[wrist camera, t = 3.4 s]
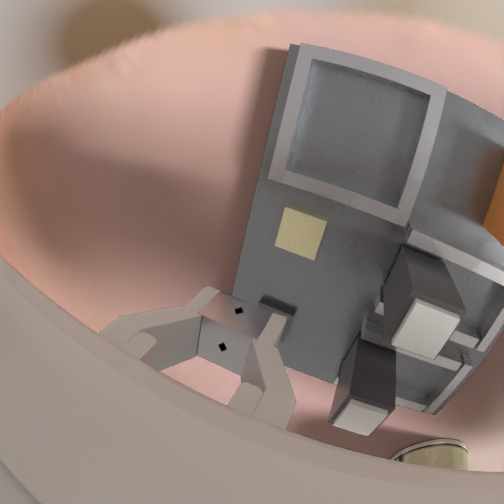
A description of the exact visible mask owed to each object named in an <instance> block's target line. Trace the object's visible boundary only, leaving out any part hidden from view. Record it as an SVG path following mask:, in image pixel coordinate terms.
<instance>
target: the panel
mask: <svg viewBox="0 0 504 504" xmlns="http://www.w3.org/2000/svg"><path fill="white" fill-rule="evenodd" d="M503 164H504V121H503V120H502V119H500V118H498V117H497V116H495V115H493V114H491V113H490V112H488V111H486V110H484V109H482V108H481V107H479V106H477V105H475V104H473V103H471V102H469V101H467V100H465V99H463V98H461V97H459V96H457V95H455V94H453V93H451V92H448V91H447V88H446V87H444V86H442V85H439V84H437V83H435V82H432V81H430V80H427V79H425V78H422V77H420V76H417V75H415V74H412V73H410V72H407V71H404V70H401V69H398V68H396V67H393V66H390V65H387V64H384V63H380V62H377V61H374V60H371V59H367V58H364V57H360V56H357V55H353V54H349V53H345V52H341V51H337V50H333V49H328V48H324V47H319V46H314V45H309V44H303V43H301V44H300V45H294V44H290V47H289V51H288V55H287V59H286V63H285V67H284V71H283V76H282V80H281V84H280V88H279V92H278V96H277V100H276V105H275V109H274V113H273V117H272V121H271V126H270V130H269V134H268V138H267V143H266V147H265V151H264V155H263V160H262V164H261V168H260V172H259V177H258V181H257V185H256V190H255V194H254V198H253V203H252V207H251V211H250V216H249V220H248V225H247V229H246V233H245V238H244V242H243V247H242V251H241V256H240V260H239V265H238V269H237V273H236V278H235V282H234V287H233V291H232V296H234V297H236V298H238V299H241V300H243V301H245V302H247V303H249V304H252V305H254V306H257V307H259V308H262V309H265V310H267V311H270V312H272V313H276V314H279V315H282V316H285V317H287V321H286V324H285V327H284V329H283V332H282V335H281V337H280V340H279V343H278V345H277V348H278V350H279V353H280V356H281V359H282V362H283V364H284V365H285V366H288V367H290V368H293V369H295V370H298V371H300V372H303V373H305V374H308V375H311V376H313V377H316V378H319V379H321V380H324V381H327V382H329V383H332V384H335V385H337V384H338V379H339V375H340V371H341V366H342V364H343V362H344V360H345V359H346V357H347V355H348V353H349V352H350V350H351V348H352V346H353V345H354V343H355V341H356V339H357V338H358V336H360V337H361V339H364V340H366V341H369V342H372V343H375V344H377V345H380V346H383V347H386V348H389V349H391V350H394V351H396V400H395V404H396V405H399V406H403V407H406V408H410V409H413V410H417V411H421V412H424V413H428V414H432V415H436V414H437V413H438V412H439V411H440V410H441V409H442V408H443V407H444V405H445V404H446V403H447V402H448V401H449V400H450V399H451V398H452V397H453V396H454V395H455V393H456V392H457V391H458V390H459V389H460V388H461V386H462V385H463V384H464V383H465V382H466V381H467V379H468V378H469V377H470V376H471V374H472V373H473V372H474V371H475V369H476V368H477V367H478V366H479V364H480V363H481V362H482V360H483V359H484V358H485V356H486V355H487V354H488V352H489V351H490V350H491V348H492V347H493V345H494V344H495V343H496V341H497V340H498V338H499V337H500V335H501V334H502V332H503V331H504V246H503V245H502V244H501V243H500V242H499V241H498V240H497V239H496V238H495V237H493V236H492V235H491V234H490V233H489V232H488V231H487V230H486V229H485V228H484V227H483V226H482V225H483V222H484V220H485V217H486V214H487V212H488V209H489V206H490V204H491V201H492V198H493V195H494V192H495V189H496V186H497V183H498V180H499V177H500V174H501V170H502V167H503ZM402 245H403V246H406V247H408V248H410V249H413V250H415V251H418V252H420V253H423V254H425V255H427V256H430V257H432V258H434V259H437V260H439V261H441V262H444V263H445V265H446V267H447V269H448V271H449V273H450V275H451V277H452V279H453V281H454V283H455V286H456V288H457V290H458V292H459V294H460V297H461V299H462V301H463V304H464V306H465V308H466V311H467V312H466V314H465V315H464V317H463V319H462V320H461V322H460V323H459V325H458V326H457V328H456V330H455V331H454V333H453V334H452V336H451V337H450V339H449V340H448V342H447V343H446V345H445V346H444V347H443V349H442V350H441V352H440V353H439V355H438V356H437V357H436V359H435V360H432V359H429V358H426V357H423V356H420V355H418V354H415V353H412V352H409V351H406V350H403V349H400V348H398V347H395V346H392V345H389V344H386V343H384V342H383V329H384V302H383V287H384V285H385V283H386V281H387V279H388V277H389V275H390V272H391V270H392V268H393V266H394V264H395V261H396V259H397V257H398V255H399V252H400V250H401V248H402Z"/></svg>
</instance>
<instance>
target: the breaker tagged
mask: <svg viewBox="0 0 504 504" xmlns="http://www.w3.org/2000/svg"><path fill="white" fill-rule="evenodd" d="M383 302H384V329H383V342H384V343H386V344H389V345H392V346H395V347H398V348H400V349H403V350H406V351H409V352H412V353H415V354H418V355H420V356H423V357H426V358H429V359H432V360H435V359H436V357H437V356H438V355H439V353H440V352H441V350H442V349H443V347H444V346H445V345H446V343H447V342H448V340H449V339H450V337H451V336H452V334H453V333H454V331H455V330H456V328H457V326H458V325H459V323H460V322H461V320H462V319H463V317H464V315H465V314H466V312H467V311H466V308H465V306H464V304H463V301H462V299H461V297H460V294H459V292H458V290H457V288H456V286H455V283H454V281H453V279H452V277H451V275H450V273H449V271H448V269H447V267H446V265H445V263H444V262H441V261H439V260H437V259H434V258H432V257H430V256H427V255H425V254H423V253H420V252H418V251H415V250H413V249H410V248H408V247H406V246H403V245H402V248H401V250H400V252H399V255H398V257H397V259H396V261H395V264H394V266H393V268H392V270H391V272H390V275H389V277H388V279H387V281H386V283H385V285H384V287H383Z"/></svg>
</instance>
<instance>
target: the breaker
mask: <svg viewBox="0 0 504 504" xmlns="http://www.w3.org/2000/svg"><path fill="white" fill-rule="evenodd" d="M395 400H396V351H394V350H391V349H389V348H386V347H383V346H380V345H377V344H375V343H372V342H369V341H366V340H364V339H361V337H360V336H358V338H357V339H356V341H355V343H354V345H353V346H352V348H351V350H350V352H349V353H348V355H347V357H346V359H345V360H344V362H343V364H342V366H341V371H340V375H339V379H338V384H337V388H336V392H335V396H334V400H333V404H332V408H331V412H330V416H329V419H328V422H330V423H333V426H335V427H338V428H342V429H345V430H348V431H351V432H355V433H358V434H361V435H365V436H368V435H371V434H372V433H373V432H374V431H375V430H376V429H377V428H378V426H379V425H380V424H381V423H382V422H383V421H384V420H385V419H386V418H387V417H388V416H389V415H390V414H391V413H392V412H393V410H394V409H395Z"/></svg>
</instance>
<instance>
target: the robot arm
mask: <svg viewBox="0 0 504 504" xmlns="http://www.w3.org/2000/svg"><path fill="white" fill-rule="evenodd" d="M286 321H287V317H285V316H282V315H279V314H276V313H272V312H270V311H267V310H265V309H262V308H259V307H257V306H254V305H252V304H249V303H247V302H245V301H243V300H241V299H238V298H236V297H234V296H231V295H229V294H227V293H225V292H222V291H220V290H218V289H215V288H213V287H211V286H206V287H205V288H204V289H203V290H201V291H200V292H199V293H198V294H197V295H196V296H195V297H194V298H193V299H192V300H191V301H190V302H189V303H188V304H187V305H186V306H185V307H182V306H175V307H170V308H165V309H159V310H154V311H148V312H142V313H137V314H131V315H125V316H120V317H118V318H117V319H116V320H115V321H113V322H112V323H111V324H109V325H108V326H107V327H106V328H104V329H103V330H102V331H101V332H99V333H97V332H95V331H94V330H92V329H91V328H89V327H88V326H87V325H85V324H84V323H82V322H81V321H80V320H78V319H77V318H75V317H74V316H73V315H71V314H70V313H69V312H67V311H66V310H65V309H63V308H62V307H61V306H59V305H58V304H57V303H56V302H54V301H53V300H52V299H51V298H49V297H48V296H47V295H46V294H44V293H43V292H42V291H41V290H39V289H38V288H37V287H36V286H35V285H33V284H32V283H31V282H30V281H29V280H28V279H26V278H25V277H24V276H23V275H22V274H21V273H20V272H18V271H17V270H16V269H15V268H14V267H13V266H12V265H11V264H10V263H9V262H8V261H6V260H5V259H4V258H3V257H2V256H1V255H0V504H504V472H482V471H467V470H455V469H446V468H438V467H430V466H423V465H417V464H411V463H405V462H400V461H395V460H390V459H385V458H381V457H376V456H372V455H368V454H364V453H360V452H356V451H352V450H348V449H345V448H341V447H337V446H334V445H331V444H327V443H324V442H321V441H317V440H314V439H311V438H308V437H305V436H302V435H299V434H296V433H293V432H291V431H288V430H286V428H287V426H288V423H289V421H290V418H291V415H292V412H293V410H294V407H295V404H296V398H295V395H294V393H293V390H292V387H291V384H290V381H289V379H288V376H287V373H286V370H285V367H284V364H283V362H282V359H281V356H280V353H279V350H278V348H277V345H278V343H279V340H280V337H281V335H282V332H283V329H284V327H285V324H286ZM196 355H197V356H199V357H201V358H203V359H206V360H208V361H210V362H212V363H215V364H217V365H219V366H221V367H223V368H225V369H228V370H230V371H232V372H234V373H236V374H238V375H240V376H241V384H240V385H239V387H238V389H237V390H236V392H235V394H234V395H233V397H232V398H231V400H230V402H229V403H228V405H224V404H222V403H220V402H218V401H216V400H214V399H211V398H209V397H207V396H205V395H203V394H201V393H199V392H197V391H195V390H193V389H191V388H189V387H187V386H185V385H183V384H182V383H180V382H178V381H176V380H174V379H172V378H170V377H168V376H167V375H165V374H163V373H161V372H159V371H160V370H163V369H165V368H168V367H171V366H173V365H176V364H178V363H181V362H183V361H186V360H188V359H191V358H193V357H196Z"/></svg>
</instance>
